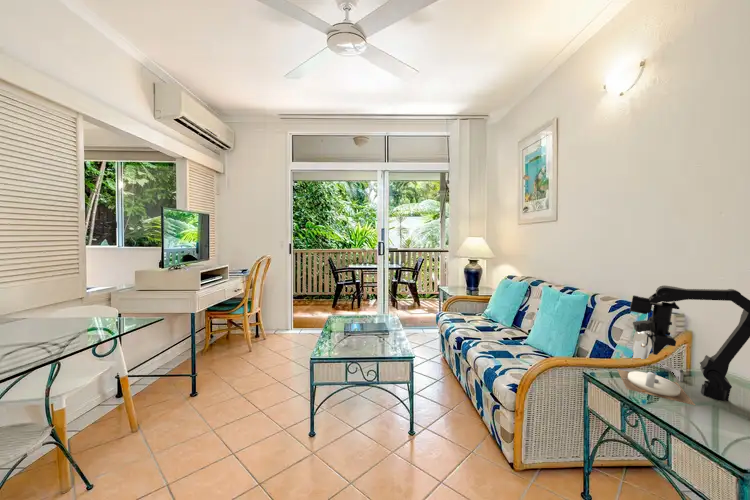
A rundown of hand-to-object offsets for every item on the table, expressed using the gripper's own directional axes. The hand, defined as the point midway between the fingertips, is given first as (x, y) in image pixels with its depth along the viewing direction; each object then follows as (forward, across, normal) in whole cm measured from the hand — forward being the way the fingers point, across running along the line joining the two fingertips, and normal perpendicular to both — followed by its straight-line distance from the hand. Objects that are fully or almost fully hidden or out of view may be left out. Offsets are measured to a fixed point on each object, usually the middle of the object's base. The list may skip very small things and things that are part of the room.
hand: (654, 354), depth 136 cm
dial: (+10, +7, -1) cm, 13 cm away
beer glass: (+12, -20, +1) cm, 24 cm away
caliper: (+12, -15, +10) cm, 22 cm away
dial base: (+12, +7, -1) cm, 14 cm away
